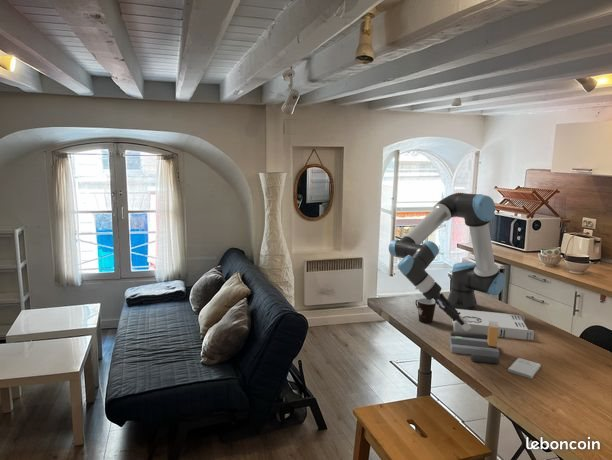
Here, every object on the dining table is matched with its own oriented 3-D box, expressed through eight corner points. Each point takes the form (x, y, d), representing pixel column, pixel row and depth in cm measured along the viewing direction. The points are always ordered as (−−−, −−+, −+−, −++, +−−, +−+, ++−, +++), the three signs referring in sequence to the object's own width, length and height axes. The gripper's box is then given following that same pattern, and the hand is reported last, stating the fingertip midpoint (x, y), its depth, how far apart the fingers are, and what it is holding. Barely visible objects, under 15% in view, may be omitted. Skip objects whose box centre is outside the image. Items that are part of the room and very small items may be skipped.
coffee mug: (436, 324, 209) (438, 304, 207) (418, 324, 209) (419, 304, 207) (430, 315, 220) (431, 296, 218) (413, 315, 220) (414, 296, 218)
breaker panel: (451, 352, 180) (451, 346, 179) (449, 341, 190) (449, 335, 190) (498, 357, 175) (499, 351, 175) (494, 346, 186) (494, 339, 186)
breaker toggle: (488, 345, 179) (490, 324, 177) (487, 341, 183) (488, 321, 181) (496, 346, 178) (498, 325, 177) (494, 342, 182) (496, 321, 181)
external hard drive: (507, 372, 165) (517, 360, 174) (531, 380, 159) (540, 367, 169) (507, 368, 164) (518, 357, 174) (531, 375, 159) (541, 363, 168)
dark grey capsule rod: (470, 361, 172) (471, 356, 171) (470, 359, 174) (470, 353, 173) (499, 365, 169) (500, 359, 169) (498, 362, 172) (498, 356, 171)
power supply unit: (533, 341, 192) (534, 330, 191) (453, 332, 201) (454, 322, 200) (523, 325, 210) (524, 315, 209) (451, 318, 219) (452, 308, 218)
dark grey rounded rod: (450, 337, 194) (450, 332, 194) (450, 335, 196) (450, 330, 196) (490, 341, 190) (490, 336, 190) (489, 339, 193) (489, 334, 192)
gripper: (421, 288, 190) (459, 328, 189) (421, 298, 178) (462, 341, 177) (434, 277, 188) (473, 317, 187) (436, 286, 175) (477, 329, 175)
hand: (468, 329), depth 182 cm, fingers closed
